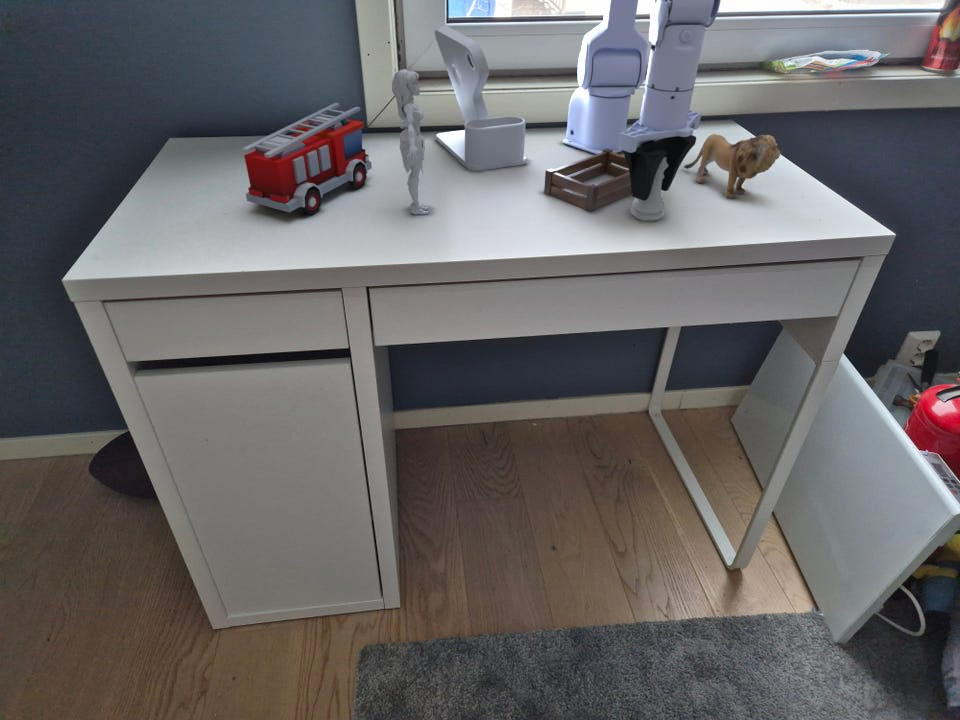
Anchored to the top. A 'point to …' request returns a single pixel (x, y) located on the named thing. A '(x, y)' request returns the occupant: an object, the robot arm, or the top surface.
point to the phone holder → (477, 110)
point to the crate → (595, 193)
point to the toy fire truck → (307, 161)
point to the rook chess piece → (651, 199)
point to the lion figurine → (737, 159)
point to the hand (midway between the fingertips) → (650, 193)
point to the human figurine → (410, 131)
